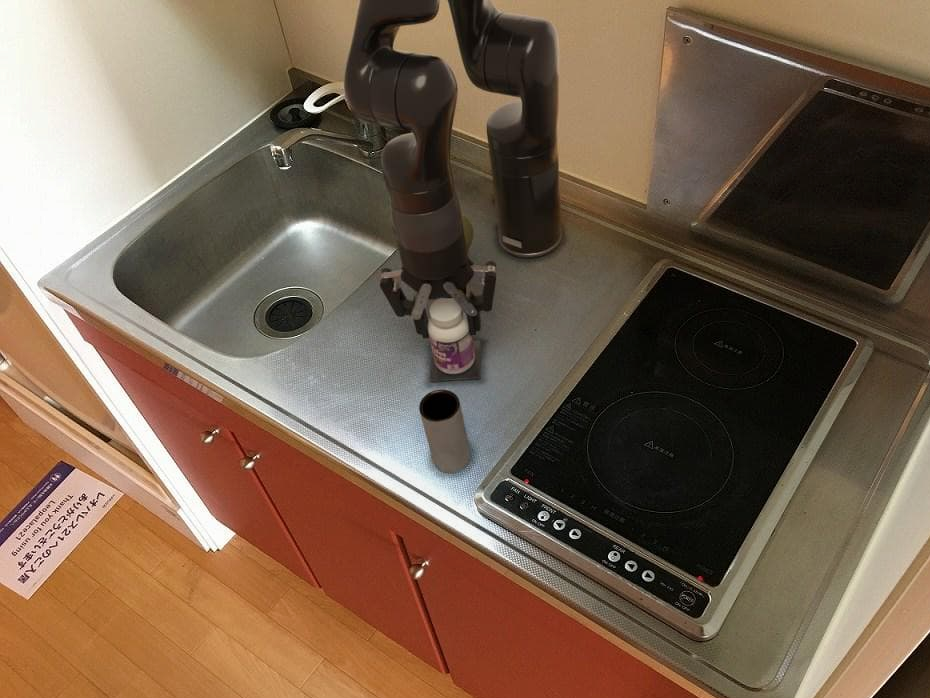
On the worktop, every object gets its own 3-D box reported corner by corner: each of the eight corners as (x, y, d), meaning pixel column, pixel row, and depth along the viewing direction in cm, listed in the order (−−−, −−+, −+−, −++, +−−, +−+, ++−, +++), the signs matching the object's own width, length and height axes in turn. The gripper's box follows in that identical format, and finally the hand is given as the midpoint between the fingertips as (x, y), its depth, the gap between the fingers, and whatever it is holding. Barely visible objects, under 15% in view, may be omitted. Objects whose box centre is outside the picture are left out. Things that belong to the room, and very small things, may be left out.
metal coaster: (432, 345, 110) (432, 343, 109) (480, 342, 109) (480, 340, 109) (430, 382, 105) (429, 380, 105) (480, 379, 105) (480, 377, 105)
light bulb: (445, 288, 116) (434, 234, 108) (436, 263, 120) (425, 209, 112) (483, 279, 117) (475, 224, 109) (473, 254, 120) (465, 199, 113)
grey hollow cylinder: (450, 435, 100) (438, 382, 92) (478, 454, 98) (468, 401, 90) (425, 461, 98) (410, 408, 90) (453, 480, 96) (440, 428, 88)
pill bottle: (427, 368, 107) (414, 316, 99) (448, 340, 109) (437, 288, 102) (463, 381, 105) (452, 329, 97) (483, 352, 107) (474, 300, 100)
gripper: (494, 200, 92) (506, 307, 105) (367, 209, 93) (395, 314, 106) (493, 245, 87) (506, 351, 100) (360, 254, 88) (390, 357, 101)
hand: (449, 331), depth 103 cm, fingers closed on pill bottle, 5 cm apart
